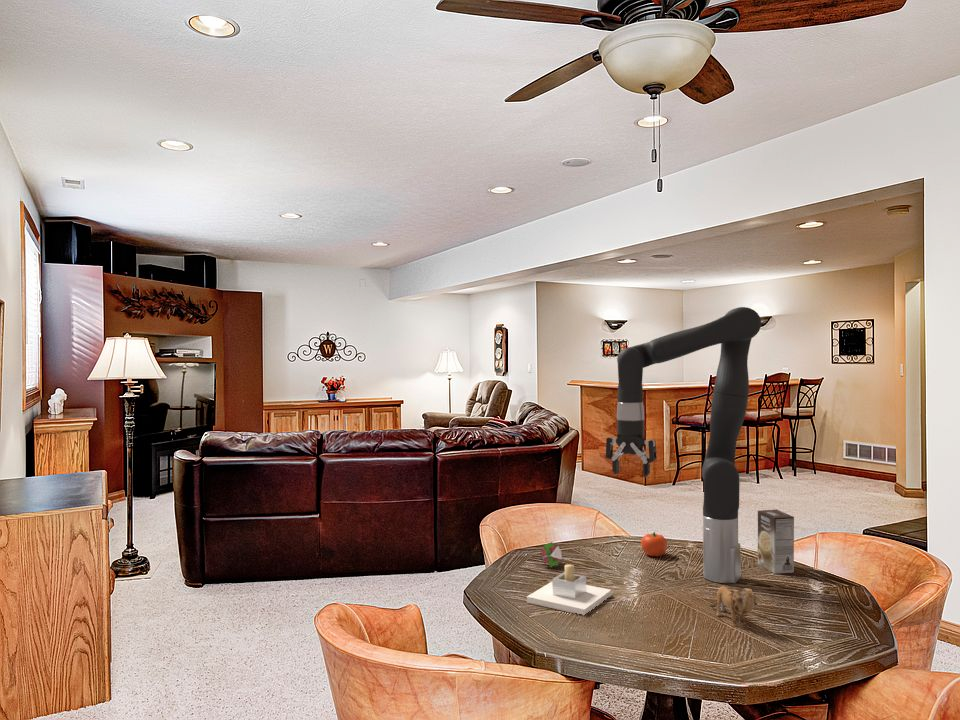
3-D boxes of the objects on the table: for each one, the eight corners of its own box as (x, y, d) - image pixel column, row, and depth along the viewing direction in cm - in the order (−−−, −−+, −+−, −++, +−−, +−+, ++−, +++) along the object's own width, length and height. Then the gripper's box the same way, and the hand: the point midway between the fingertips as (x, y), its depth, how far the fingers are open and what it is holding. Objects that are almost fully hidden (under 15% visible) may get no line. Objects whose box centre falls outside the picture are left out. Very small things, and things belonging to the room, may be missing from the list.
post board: (611, 595, 176) (611, 562, 176) (584, 615, 162) (584, 580, 162) (556, 584, 185) (556, 553, 185) (526, 602, 171) (526, 568, 171)
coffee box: (756, 564, 200) (756, 509, 200) (776, 563, 201) (776, 509, 201) (774, 574, 191) (774, 517, 191) (795, 572, 192) (795, 516, 192)
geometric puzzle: (530, 557, 202) (542, 538, 199) (544, 552, 207) (556, 533, 204) (545, 575, 199) (558, 557, 195) (559, 570, 204) (572, 552, 200)
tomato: (666, 559, 206) (666, 535, 205) (639, 557, 208) (639, 533, 208) (668, 552, 213) (668, 529, 213) (642, 550, 215) (641, 527, 215)
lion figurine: (763, 629, 153) (762, 590, 153) (744, 633, 152) (744, 593, 151) (719, 607, 167) (718, 570, 167) (701, 610, 165) (701, 573, 165)
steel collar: (586, 591, 174) (586, 576, 174) (575, 599, 169) (575, 583, 169) (564, 587, 178) (564, 572, 178) (552, 594, 173) (552, 578, 173)
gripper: (659, 418, 191) (660, 475, 191) (612, 415, 199) (612, 471, 199) (650, 420, 185) (650, 479, 185) (601, 418, 193) (602, 475, 193)
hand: (630, 475), depth 192 cm, fingers open, 8 cm apart
